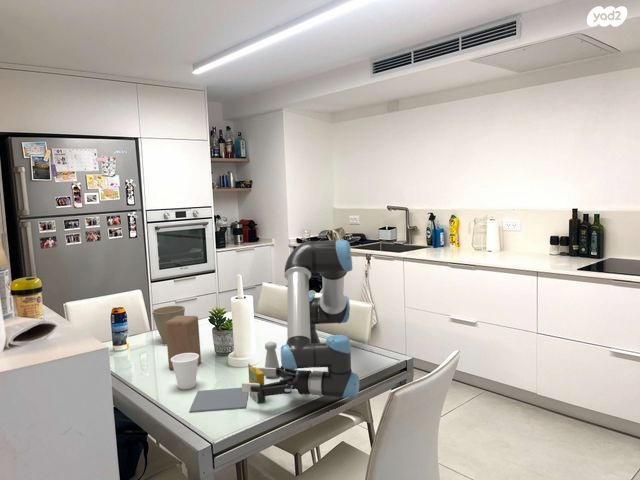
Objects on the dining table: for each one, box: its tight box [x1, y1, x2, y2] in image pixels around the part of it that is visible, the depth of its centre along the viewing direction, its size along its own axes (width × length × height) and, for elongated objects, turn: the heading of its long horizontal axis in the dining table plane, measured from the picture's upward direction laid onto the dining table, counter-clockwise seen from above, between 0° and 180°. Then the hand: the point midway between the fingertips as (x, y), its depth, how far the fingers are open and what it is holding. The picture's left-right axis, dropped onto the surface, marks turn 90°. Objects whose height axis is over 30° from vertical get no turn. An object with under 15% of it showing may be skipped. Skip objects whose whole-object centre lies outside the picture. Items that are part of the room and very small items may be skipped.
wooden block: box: [166, 315, 202, 370], centre depth 196 cm, size 10×10×20 cm
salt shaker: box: [264, 341, 281, 379], centre depth 181 cm, size 6×6×13 cm
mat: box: [188, 387, 250, 413], centre depth 162 cm, size 18×16×1 cm
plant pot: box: [151, 305, 185, 345], centre depth 231 cm, size 15×15×16 cm
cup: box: [171, 353, 199, 390], centre depth 175 cm, size 10×10×11 cm
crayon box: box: [247, 363, 266, 404], centre depth 161 cm, size 7×3×12 cm, turn 29°
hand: (250, 378), depth 162 cm, fingers open, 13 cm apart
